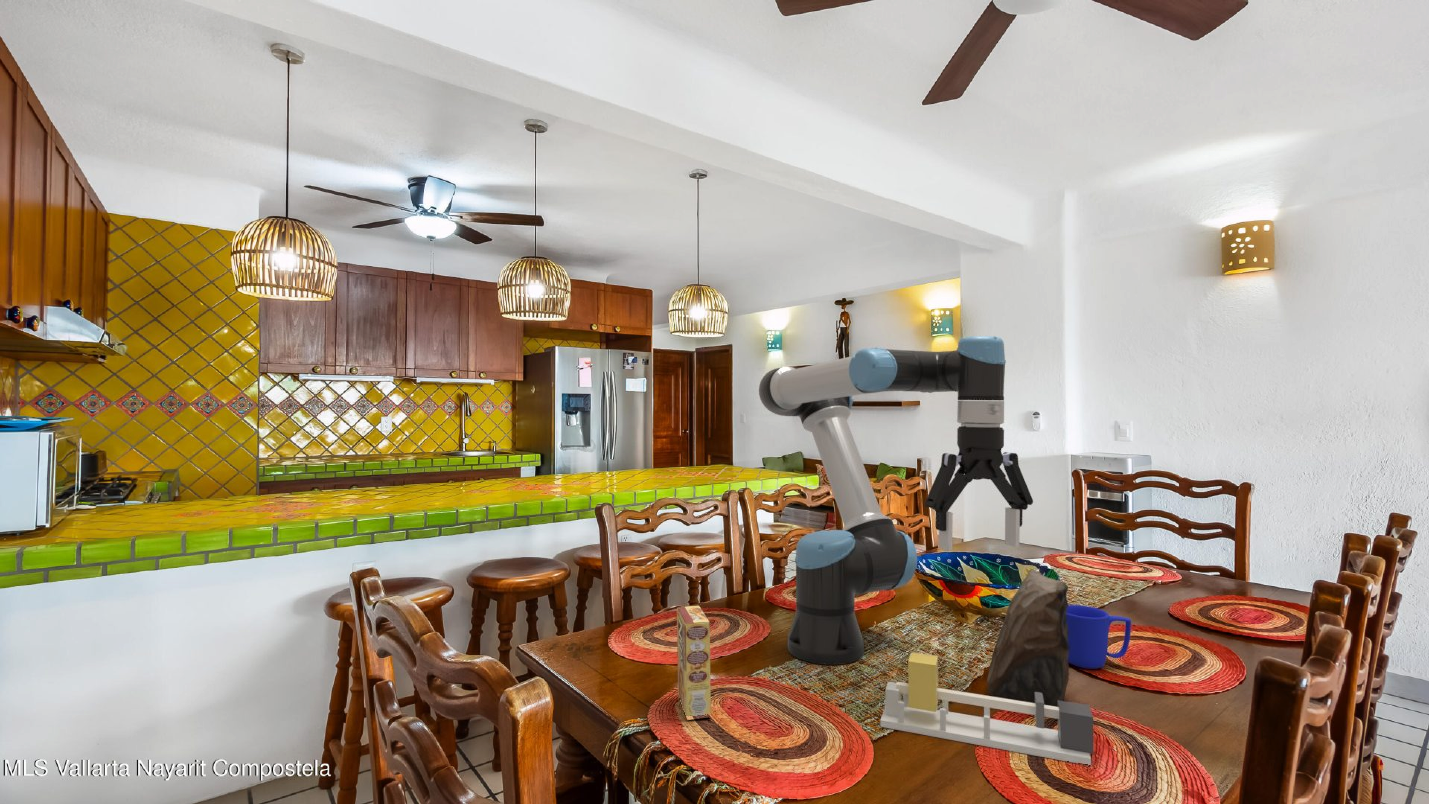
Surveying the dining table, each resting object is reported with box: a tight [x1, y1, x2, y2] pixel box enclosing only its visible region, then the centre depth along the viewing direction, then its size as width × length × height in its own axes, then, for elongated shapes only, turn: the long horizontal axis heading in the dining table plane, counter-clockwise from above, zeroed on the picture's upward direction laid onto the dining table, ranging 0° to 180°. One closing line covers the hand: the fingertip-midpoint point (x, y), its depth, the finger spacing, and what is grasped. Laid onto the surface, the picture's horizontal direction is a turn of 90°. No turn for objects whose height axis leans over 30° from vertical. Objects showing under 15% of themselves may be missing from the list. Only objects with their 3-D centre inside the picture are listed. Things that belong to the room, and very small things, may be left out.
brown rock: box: [986, 569, 1070, 707], centre depth 109 cm, size 13×13×20 cm
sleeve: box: [907, 652, 939, 712], centre depth 99 cm, size 4×4×7 cm
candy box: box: [676, 605, 712, 716], centre depth 104 cm, size 9×4×15 cm, turn 13°
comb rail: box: [879, 681, 1094, 766], centre depth 96 cm, size 28×7×7 cm, turn 67°
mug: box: [1066, 604, 1132, 670], centre depth 122 cm, size 8×12×10 cm
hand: (979, 547), depth 112 cm, fingers open, 13 cm apart
